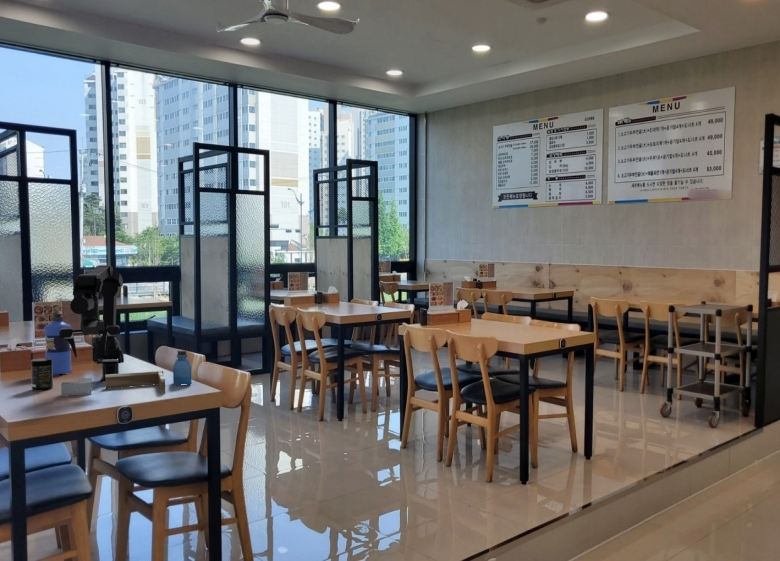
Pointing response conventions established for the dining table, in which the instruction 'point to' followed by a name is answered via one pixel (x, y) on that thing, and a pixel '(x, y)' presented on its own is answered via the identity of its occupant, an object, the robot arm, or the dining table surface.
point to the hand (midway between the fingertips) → (90, 356)
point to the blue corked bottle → (182, 369)
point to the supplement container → (42, 374)
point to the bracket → (77, 387)
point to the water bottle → (57, 345)
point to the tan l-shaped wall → (135, 379)
